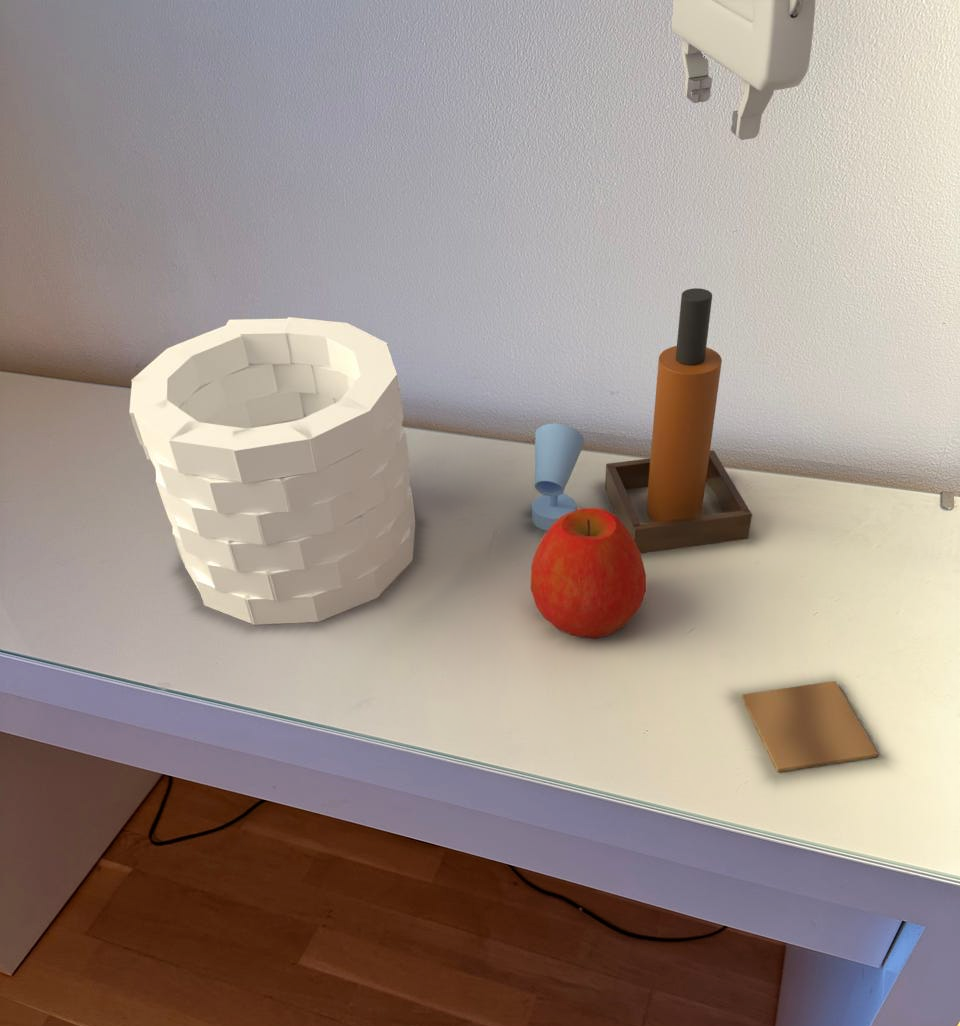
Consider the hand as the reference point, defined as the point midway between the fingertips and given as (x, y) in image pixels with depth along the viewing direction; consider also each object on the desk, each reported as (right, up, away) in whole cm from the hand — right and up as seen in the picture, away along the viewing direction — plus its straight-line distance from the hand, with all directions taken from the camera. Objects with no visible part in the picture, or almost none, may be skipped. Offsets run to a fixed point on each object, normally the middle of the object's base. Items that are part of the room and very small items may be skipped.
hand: (719, 117), depth 80 cm
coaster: (+6, -51, -4) cm, 51 cm away
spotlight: (-12, -31, +19) cm, 38 cm away
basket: (-38, -34, +18) cm, 54 cm away
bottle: (0, -31, +18) cm, 36 cm away
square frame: (0, -31, +18) cm, 36 cm away
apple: (-10, -41, +8) cm, 43 cm away
